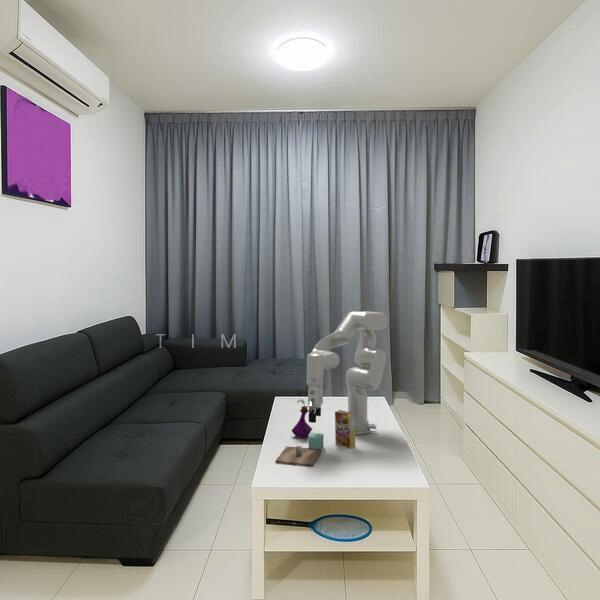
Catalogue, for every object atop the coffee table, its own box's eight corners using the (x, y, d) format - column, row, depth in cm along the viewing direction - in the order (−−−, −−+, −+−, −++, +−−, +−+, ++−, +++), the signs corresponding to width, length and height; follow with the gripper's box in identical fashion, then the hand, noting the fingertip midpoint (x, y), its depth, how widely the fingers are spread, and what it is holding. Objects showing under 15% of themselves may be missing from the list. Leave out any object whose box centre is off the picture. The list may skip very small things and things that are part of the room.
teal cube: (323, 446, 209) (323, 433, 208) (320, 451, 203) (320, 437, 203) (311, 445, 210) (311, 432, 210) (308, 450, 205) (308, 436, 204)
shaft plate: (321, 451, 203) (321, 441, 203) (312, 466, 188) (312, 456, 187) (286, 448, 207) (286, 438, 207) (275, 463, 192) (275, 452, 191)
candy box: (334, 443, 212) (334, 411, 211) (340, 441, 215) (340, 409, 214) (349, 448, 206) (349, 415, 205) (355, 446, 209) (355, 413, 208)
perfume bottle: (312, 435, 223) (312, 399, 222) (304, 440, 217) (303, 402, 215) (300, 432, 227) (299, 396, 226) (291, 437, 221) (290, 400, 220)
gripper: (319, 386, 195) (318, 425, 196) (327, 377, 212) (327, 414, 213) (301, 385, 197) (301, 424, 198) (311, 376, 214) (311, 412, 215)
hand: (314, 419), depth 205 cm, fingers open, 9 cm apart
